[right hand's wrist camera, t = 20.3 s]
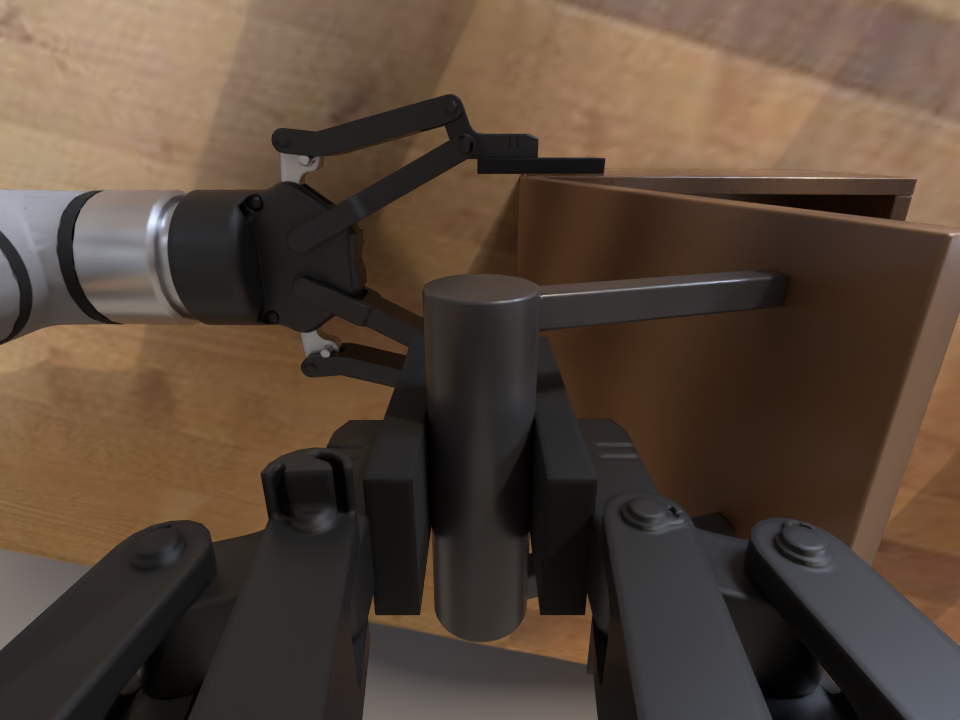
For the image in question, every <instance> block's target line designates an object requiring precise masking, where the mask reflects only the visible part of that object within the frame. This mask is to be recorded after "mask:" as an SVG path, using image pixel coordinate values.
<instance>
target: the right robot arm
mask: <svg viewBox="0 0 960 720" xmlns="http://www.w3.org/2000/svg"><path fill="white" fill-rule="evenodd" d="M261 478H262V484H263V489H264V495H265V501H266V506H267V512H268V518H269V520H268V523H267V525H266V528H265V529H264V530H262V531H259V532H256V533H252V534H249V535H245V536H240V537H236V538H231V539H226V540H222V541H217V542H212V540H211V535H210V531H209V530H208V529H207V528H206V527H205V526H204V525H203V524H201V523H197V522H194V521H190V520H181V521H169V522H164V523H161V524H156V525H153V526H150V527H148V528H146V529H144V530H141V531H139V532H137V533H135V534H133V535H131V536H130V537H128V538H127V539H126V540H124V541H123V542H121V543H120V544H118V545H117V546H116V547H115V548H114V549H113V550H111V551H110V552H109V553H108V554H107V555H106V556H105V557H104V558H103V559H101V560H100V561H99V562H98V563H97V564H96V565H95V566H94V567H93V568H91V569H90V570H89V571H88V572H87V573H86V574H85V575H84V576H83V577H81V578H80V579H79V580H78V581H77V582H76V583H75V584H74V585H73V586H72V587H70V588H69V589H68V590H67V591H66V592H65V593H64V594H63V595H62V596H60V597H59V598H58V599H57V600H56V601H55V602H54V603H53V604H52V605H50V606H49V607H48V608H47V609H46V610H45V611H44V612H43V613H42V614H40V615H39V616H38V617H37V618H36V619H35V620H34V621H33V622H32V623H30V624H29V625H28V626H27V627H26V628H25V629H24V630H23V631H22V632H21V633H19V634H18V635H17V636H16V637H15V638H14V639H13V640H12V641H11V642H9V643H8V644H7V645H6V646H5V647H4V648H3V649H2V650H1V651H0V720H362V716H363V706H364V696H365V686H366V676H367V666H368V656H369V646H370V633H369V624H368V614H369V610H370V606H371V602H372V598H373V595H374V606H375V615H420V610H421V602H422V595H423V587H424V579H425V571H426V564H427V556H428V548H429V540H430V533H431V525H432V524H431V498H430V472H429V446H428V420H427V394H426V368H425V342H424V337H413V338H412V341H411V344H410V346H409V349H408V352H407V355H406V358H405V361H404V363H403V366H402V369H401V372H400V375H399V377H398V380H397V383H396V386H395V389H394V392H393V394H392V397H391V400H390V403H389V406H388V409H387V411H386V414H385V417H384V420H349V421H348V422H347V423H345V424H344V425H343V426H341V427H340V428H339V429H338V430H336V431H335V432H334V433H333V435H332V437H331V439H330V441H329V443H328V445H327V448H308V449H302V450H297V451H294V452H291V453H288V454H285V455H282V456H280V457H279V458H277V459H276V460H274V461H272V462H271V463H269V464H268V465H267V466H266V468H265V469H264V470H263V471H262V472H261ZM530 538H531V546H532V554H533V562H534V569H535V577H536V585H537V593H538V600H539V608H540V615H585V609H586V598H587V594H588V598H589V602H590V606H591V610H592V624H591V633H590V643H589V653H588V663H587V673H588V674H593V675H594V685H595V695H596V705H597V715H598V720H960V646H959V645H958V644H956V643H955V642H954V641H953V640H952V639H951V638H950V637H949V636H948V635H946V634H945V633H944V632H943V631H942V630H941V629H940V628H939V627H937V626H936V625H935V624H934V623H933V622H932V621H931V620H930V619H929V618H927V617H926V616H925V615H924V614H923V613H922V612H921V611H920V610H918V609H917V608H916V607H915V606H914V605H913V604H912V603H911V602H910V601H908V600H907V599H906V598H905V597H904V596H903V595H902V594H901V593H899V592H898V591H897V590H896V589H895V588H894V587H893V586H892V585H891V584H889V583H888V582H887V581H886V580H885V579H884V578H883V577H882V576H880V575H879V574H878V573H877V572H876V571H875V570H874V569H873V568H871V567H870V566H869V565H868V564H867V563H866V562H865V561H864V560H863V559H861V558H860V557H859V556H858V555H857V554H856V553H855V552H854V551H852V550H851V549H850V548H849V547H848V546H847V545H846V544H845V543H843V542H842V541H840V540H839V539H838V538H836V537H835V536H833V535H832V534H830V533H829V532H827V531H825V530H823V529H821V528H818V527H816V526H814V525H812V524H809V523H806V522H803V521H798V520H794V519H789V518H770V519H766V520H762V521H759V522H758V523H757V524H756V525H755V526H754V527H753V528H752V529H751V532H750V537H749V540H745V539H740V538H735V537H731V536H726V535H721V534H717V533H713V532H709V531H706V530H702V529H700V528H697V527H695V526H694V525H693V522H692V520H691V518H690V517H689V515H688V514H687V512H686V511H685V509H684V508H682V507H681V506H680V505H678V504H677V503H675V502H674V501H673V500H671V499H669V498H666V497H664V496H661V495H660V494H659V492H658V491H657V489H656V487H655V485H654V483H653V481H652V479H651V477H650V475H649V473H648V471H647V469H646V467H645V465H644V463H643V462H642V460H641V458H639V454H638V452H637V450H636V448H635V447H634V446H633V442H632V440H631V438H630V436H629V434H628V433H627V431H626V430H625V429H624V428H623V427H621V426H620V425H619V424H617V423H616V422H615V421H613V420H612V419H576V416H575V413H574V411H573V408H572V405H571V402H570V399H569V396H568V394H567V391H566V388H565V385H564V382H563V380H562V377H561V374H560V371H559V368H558V365H557V363H556V360H555V357H554V354H553V351H552V349H551V346H550V343H549V340H548V337H539V341H538V364H537V386H536V408H535V418H534V441H533V464H532V488H531V511H530ZM824 670H825V671H826V672H827V673H828V675H829V676H830V677H831V678H832V680H833V681H834V682H835V683H836V684H837V685H836V684H835V683H834V682H833V681H832V680H831V678H830V677H829V676H828V675H827V673H826V672H825V671H824ZM133 676H134V677H133ZM129 681H130V682H129Z"/></svg>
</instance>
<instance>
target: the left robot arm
mask: <svg viewBox="0 0 960 720" xmlns="http://www.w3.org/2000/svg"><path fill="white" fill-rule="evenodd" d="M442 126H445V128H446V130H447V133H448V136H449V139H450V140H449V141H447V142H446V143H444V144H442V145H441V146H439V147H437V148H435V149H434V150H432V151H430V152H429V153H427V154H425V155H423V156H422V157H420V158H418V159H416V160H415V161H413V162H411V163H410V164H408V165H406V166H404V167H403V168H401V169H399V170H398V171H396V172H394V173H392V174H391V175H389V176H387V177H386V178H384V179H382V180H380V181H379V182H377V183H375V184H373V185H372V186H370V187H368V188H367V189H365V190H363V191H361V192H360V193H358V194H356V195H354V196H352V197H351V198H349V199H347V200H345V201H343V202H342V203H340V204H338V205H335V204H334V203H332V202H331V201H330V200H328V199H327V198H325V197H324V196H322V195H321V194H320V193H318V192H317V191H315V190H314V189H313V188H311V187H310V186H308V185H307V184H305V178H306V176H307V174H308V173H310V172H312V171H317V170H319V169H321V168H322V166H323V164H324V156H334V155H340V154H345V153H349V152H352V151H356V150H359V149H363V148H367V147H370V146H374V145H377V144H381V143H385V142H388V141H392V140H395V139H399V138H403V137H406V136H410V135H413V134H417V133H420V132H424V131H428V130H431V129H435V128H438V127H442ZM272 144H273V146H274V148H275V149H276V150H277V151H279V152H280V163H281V182H280V183H278V184H276V185H275V186H273V187H272V188H270V189H267V190H195V191H192V192H190V193H188V194H187V193H185V192H183V191H180V190H104V191H47V190H0V345H2V344H4V343H7V342H9V341H12V340H14V339H16V338H19V337H21V336H24V335H26V334H29V333H31V332H34V331H36V330H39V329H41V328H44V327H49V326H55V325H69V324H157V325H194V324H196V323H199V322H202V323H204V324H208V325H275V324H277V325H283V326H286V327H289V328H291V329H293V330H295V331H297V332H300V334H301V338H302V343H303V347H304V351H305V355H306V359H305V360H304V361H303V362H302V365H301V370H302V372H303V373H304V374H305V375H306V376H308V377H324V376H335V375H343V376H347V377H352V378H356V379H360V380H365V381H369V382H373V383H377V384H382V385H386V386H390V387H395V386H396V383H397V380H398V377H399V375H400V372H401V369H402V366H403V363H404V361H405V358H406V355H401V354H397V353H393V352H389V351H385V350H380V349H376V348H372V347H368V346H364V345H359V344H354V343H342V342H341V340H340V339H339V338H338V337H336V336H333V335H328V334H326V333H325V332H323V330H322V329H321V326H322V325H323V324H325V323H326V322H327V321H329V320H330V319H331V318H333V317H334V316H335V315H337V316H339V317H341V318H343V319H345V320H347V321H349V322H351V323H353V324H356V325H358V326H366V327H369V328H371V329H373V330H375V331H377V332H379V333H381V334H383V335H385V336H387V337H389V338H391V339H393V340H395V341H397V342H399V343H401V344H404V345H406V346H408V347H409V346H410V344H411V341H412V338H413V337H424V318H422V317H420V316H418V315H416V314H414V313H412V312H410V311H408V310H406V309H404V308H402V307H400V306H398V305H396V304H394V303H392V302H390V301H388V300H386V299H384V298H383V297H381V295H380V294H379V293H377V292H376V291H374V290H372V289H370V288H368V287H366V286H364V284H365V283H366V282H367V279H366V269H365V266H364V263H363V260H362V257H361V254H362V249H363V243H364V240H363V229H360V228H359V225H358V223H357V222H358V221H359V220H361V219H363V218H365V217H366V216H368V215H370V214H372V213H373V212H375V211H377V210H379V209H380V208H382V207H384V206H386V205H387V204H389V203H391V202H393V201H394V200H396V199H398V198H400V197H402V196H403V195H405V194H407V193H409V192H410V191H412V190H414V189H416V188H417V187H419V186H421V185H423V184H424V183H426V182H428V181H430V180H431V179H433V178H435V177H437V176H438V175H440V174H442V173H444V172H445V171H447V170H449V169H451V168H452V167H454V166H456V165H458V164H459V163H461V162H463V161H465V160H466V159H477V174H527V173H577V174H604V166H605V158H538V138H537V137H535V136H532V135H530V134H481V133H478V132H476V131H474V130H473V129H472V128H471V126H470V124H469V121H468V118H467V115H466V112H465V109H464V107H463V104H462V102H461V100H460V99H459V98H458V97H457V96H456V95H453V94H447V95H444V96H440V97H437V98H433V99H430V100H426V101H423V102H419V103H416V104H412V105H409V106H405V107H402V108H398V109H395V110H391V111H388V112H384V113H381V114H377V115H374V116H370V117H366V118H363V119H359V120H356V121H352V122H349V123H345V124H342V125H338V126H335V127H331V128H328V129H324V130H321V131H317V132H315V131H305V130H296V129H287V128H279V129H277V130H275V131H274V133H273V134H272Z"/></svg>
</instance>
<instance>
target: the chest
mask: <svg viewBox="0 0 960 720" xmlns="http://www.w3.org/2000/svg"><path fill="white" fill-rule="evenodd" d="M523 177H543V178H551V179H560V180H568V181H576V182H584V183H593V184H601V185H609V186H617V187H626V188H634V189H642V190H651V191H659V192H667V193H675V194H684V195H692V196H700V197H708V198H717V199H725V200H733V201H741V202H750V203H758V204H766V205H775V206H783V207H791V208H799V209H808V210H816V211H824V212H832V213H841V214H849V215H857V216H865V217H874V218H882V219H890V220H899V221H905V219H906V215H907V212H908V208H909V205H910V201H911V198H912V196H910V195H912V194H913V192H914V188H915V185H916V181H917V178H911V177H897V176H883V175H869V174H855V173H841V172H827V171H813V170H776V169H604V174H577V173H527V174H523Z"/></svg>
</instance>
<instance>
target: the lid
mask: <svg viewBox="0 0 960 720" xmlns="http://www.w3.org/2000/svg"><path fill="white" fill-rule="evenodd" d="M959 313H960V228H956V227H948V226H940V225H932V224H923V223H915V222H907V221H899V220H890V219H882V218H874V217H865V216H857V215H849V214H841V213H832V212H824V211H816V210H808V209H799V208H791V207H783V206H775V205H766V204H758V203H750V202H741V201H733V200H725V199H717V198H708V197H700V196H692V195H684V194H675V193H667V192H659V191H651V190H642V189H634V188H626V187H617V186H609V185H601V184H593V183H584V182H576V181H568V180H560V179H551V178H543V177H520V182H519V218H518V255H517V277H514V276H508V275H498V274H464V275H454V276H448V277H443V278H439V279H436V280H433V281H431V282H429V283H427V284H426V285H425V286H424V288H423V316H424V342H425V368H426V394H427V420H428V446H429V472H430V498H431V524H432V550H433V576H434V602H435V612H436V615H437V618H438V619H439V621H440V623H441V624H442V625H443V627H444V628H445V629H446V630H447V631H449V632H450V633H451V634H453V635H455V636H456V637H458V638H461V639H464V640H467V641H472V642H490V641H494V640H498V639H501V638H503V637H505V636H507V635H508V634H510V633H512V632H513V631H514V630H515V629H516V628H517V627H518V626H519V625H520V623H521V622H522V620H523V618H524V616H525V613H526V607H527V599H531V598H535V597H538V593H537V585H536V577H535V569H534V562H533V554H532V553H530V554H529V543H530V511H531V488H532V464H533V441H534V418H535V408H536V386H537V364H538V341H539V337H548V340H549V343H550V346H551V349H552V351H553V354H554V357H555V360H556V363H557V365H558V368H559V371H560V374H561V377H562V380H563V382H564V385H565V388H566V391H567V394H568V396H569V399H570V402H571V405H572V408H573V411H574V413H575V416H576V419H612V420H613V421H615V422H616V423H617V424H619V425H620V426H621V427H623V428H624V429H625V430H626V431H627V433H628V434H629V436H630V438H631V440H632V442H633V446H634V447H635V448H636V450H637V452H638V454H639V458H641V460H642V462H643V463H644V465H645V467H646V469H647V471H648V473H649V475H650V477H651V479H652V481H653V483H654V485H655V487H656V489H657V491H658V492H659V494H660V495H661V496H664V497H666V498H669V499H671V500H673V501H674V502H675V503H677V504H678V505H680V506H681V507H682V508H684V509H685V511H686V512H687V514H688V515H689V517H690V518H691V520H692V522H693V525H694V526H695V527H697V528H700V529H702V530H706V531H709V532H713V533H717V534H721V535H726V536H731V537H735V538H740V539H745V540H749V537H750V532H751V529H752V528H753V527H754V526H755V525H756V524H757V523H758V522H759V521H762V520H766V519H770V518H789V519H794V520H798V521H803V522H806V523H809V524H812V525H814V526H816V527H818V528H821V529H823V530H825V531H827V532H829V533H830V534H832V535H833V536H835V537H836V538H838V539H839V540H840V541H842V542H843V543H845V544H846V545H847V546H848V547H849V548H850V549H851V550H852V551H854V552H855V553H856V554H857V555H858V556H859V557H860V558H861V559H863V560H864V561H865V562H866V563H867V564H868V565H869V566H870V567H871V568H872V565H873V562H874V560H875V557H876V554H877V551H878V548H879V545H880V542H881V539H882V536H883V533H884V531H885V528H886V525H887V522H888V519H889V516H890V513H891V510H892V507H893V504H894V501H895V499H896V496H897V493H898V490H899V487H900V484H901V481H902V478H903V475H904V472H905V470H906V467H907V464H908V461H909V458H910V455H911V452H912V449H913V446H914V443H915V440H916V438H917V435H918V432H919V429H920V426H921V423H922V420H923V417H924V414H925V411H926V409H927V406H928V403H929V400H930V397H931V394H932V391H933V388H934V385H935V382H936V379H937V377H938V374H939V371H940V368H941V365H942V362H943V359H944V356H945V353H946V350H947V348H948V345H949V342H950V339H951V336H952V333H953V330H954V327H955V324H956V321H957V318H958V316H959Z"/></svg>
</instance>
